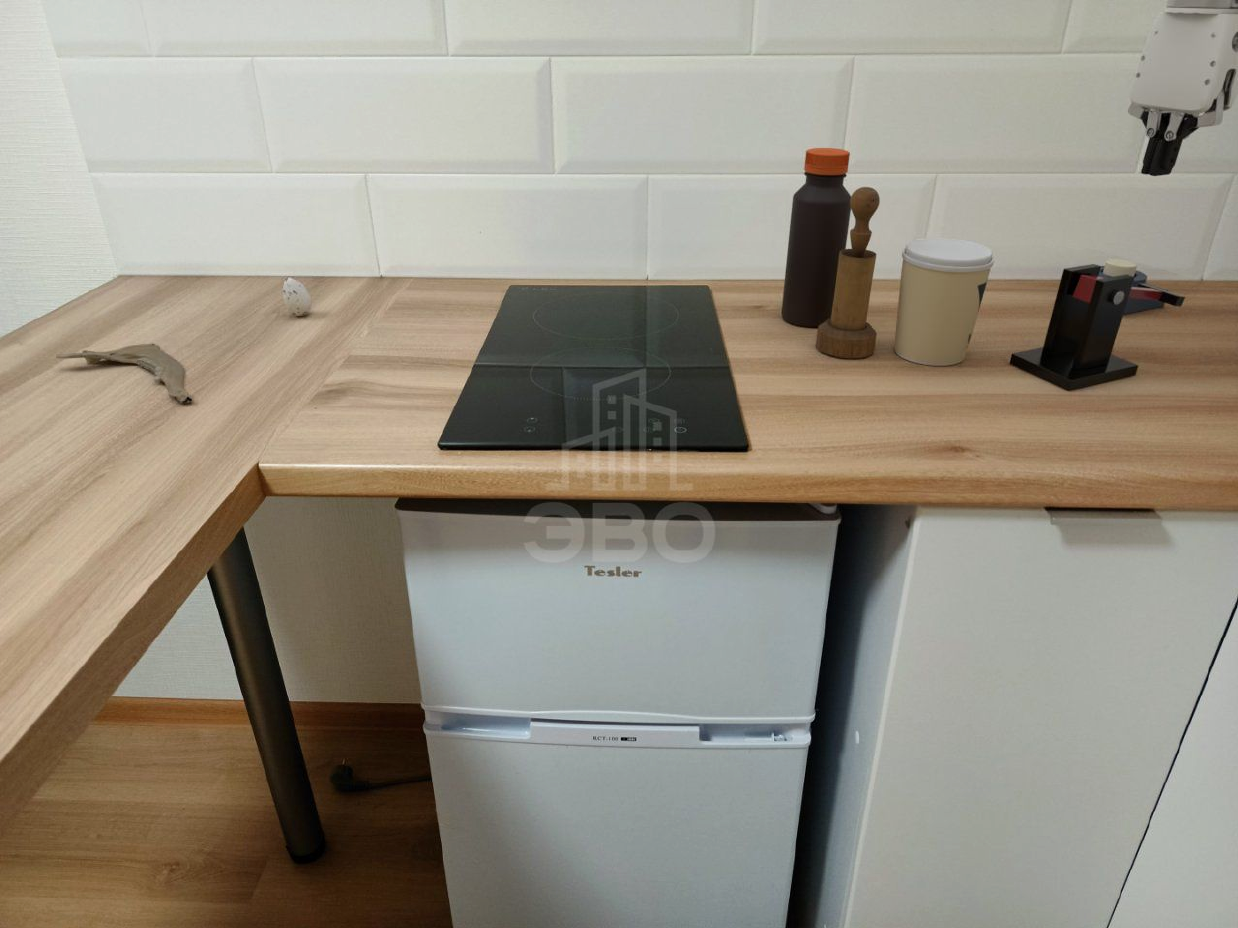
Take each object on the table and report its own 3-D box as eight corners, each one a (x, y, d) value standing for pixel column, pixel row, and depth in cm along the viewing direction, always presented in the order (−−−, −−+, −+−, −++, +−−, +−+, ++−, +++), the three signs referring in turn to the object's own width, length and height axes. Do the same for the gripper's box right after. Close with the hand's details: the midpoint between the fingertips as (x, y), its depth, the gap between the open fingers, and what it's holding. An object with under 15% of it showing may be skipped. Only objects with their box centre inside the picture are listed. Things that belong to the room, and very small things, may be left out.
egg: (314, 318, 108) (307, 279, 105) (287, 321, 107) (280, 282, 104) (312, 310, 110) (305, 272, 108) (286, 313, 109) (278, 274, 107)
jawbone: (133, 349, 101) (129, 332, 100) (259, 384, 93) (257, 366, 92) (57, 370, 93) (52, 352, 92) (187, 410, 85) (184, 391, 84)
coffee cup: (986, 368, 94) (1011, 260, 88) (902, 370, 94) (921, 261, 88) (953, 337, 102) (973, 236, 96) (875, 338, 102) (891, 237, 96)
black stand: (1074, 349, 99) (1100, 257, 93) (1135, 375, 92) (1167, 277, 87) (1008, 363, 95) (1032, 268, 90) (1068, 391, 89) (1097, 290, 84)
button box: (1110, 289, 118) (1118, 260, 116) (1163, 306, 112) (1173, 276, 110) (1057, 298, 115) (1065, 269, 113) (1109, 317, 108) (1118, 286, 106)
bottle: (812, 332, 103) (833, 159, 94) (769, 317, 108) (785, 150, 98) (847, 319, 107) (870, 152, 97) (804, 306, 112) (822, 144, 102)
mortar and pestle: (881, 345, 100) (906, 186, 91) (864, 363, 95) (890, 197, 86) (825, 334, 103) (845, 179, 94) (807, 352, 98) (826, 190, 89)
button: (1115, 270, 113) (1119, 257, 113) (1139, 278, 111) (1143, 264, 110) (1096, 273, 112) (1099, 260, 111) (1120, 281, 109) (1124, 268, 108)
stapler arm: (1137, 299, 97) (1146, 278, 96) (1178, 312, 93) (1188, 291, 92) (1061, 293, 91) (1069, 270, 90) (1101, 307, 87) (1110, 284, 86)
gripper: (1302, -1, 88) (1238, 183, 97) (1167, -4, 100) (1121, 161, 109) (1256, 0, 85) (1194, 189, 94) (1123, -3, 97) (1079, 165, 106)
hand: (1155, 173), depth 102 cm, fingers closed
